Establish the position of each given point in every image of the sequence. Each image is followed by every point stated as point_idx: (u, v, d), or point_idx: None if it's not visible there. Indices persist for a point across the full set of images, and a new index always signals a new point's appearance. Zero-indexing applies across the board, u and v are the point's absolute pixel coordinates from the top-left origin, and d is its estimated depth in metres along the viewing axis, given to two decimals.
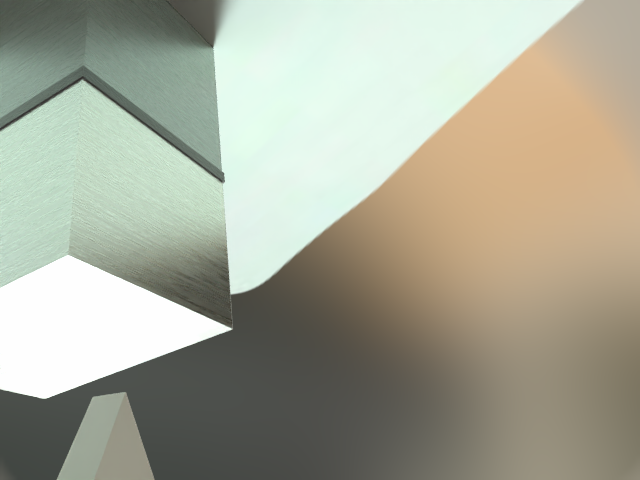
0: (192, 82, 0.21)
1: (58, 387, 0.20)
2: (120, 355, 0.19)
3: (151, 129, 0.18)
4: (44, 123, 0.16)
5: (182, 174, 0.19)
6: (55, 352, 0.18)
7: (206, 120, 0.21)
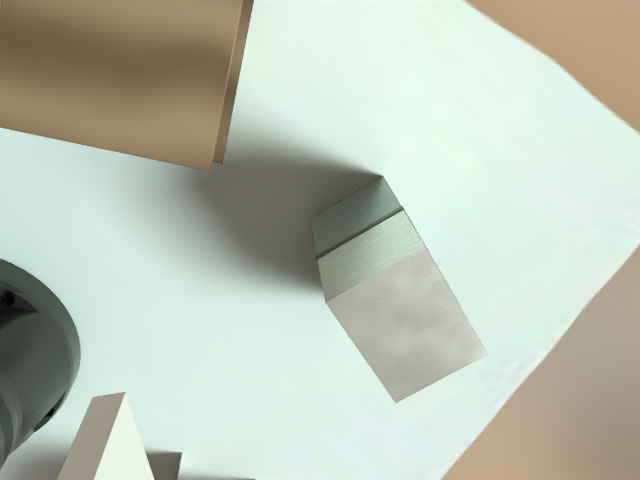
0: (373, 200, 0.40)
1: (473, 343, 0.34)
2: (439, 304, 0.33)
3: (353, 238, 0.37)
4: None
5: (375, 232, 0.36)
6: (422, 331, 0.33)
7: (385, 202, 0.38)
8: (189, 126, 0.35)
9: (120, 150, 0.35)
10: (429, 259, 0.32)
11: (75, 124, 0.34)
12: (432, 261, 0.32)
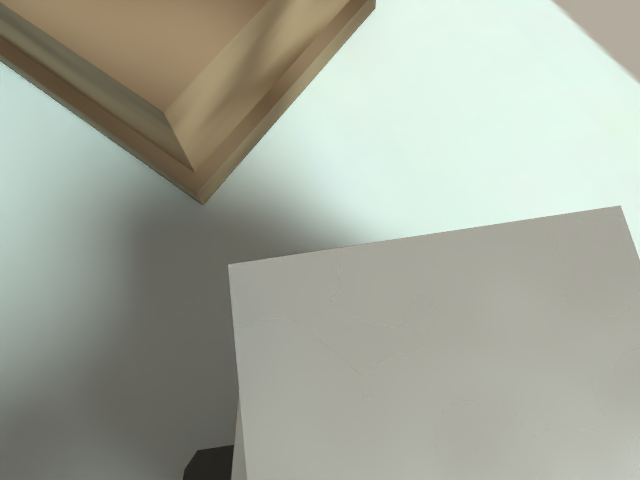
0: None
1: None
2: (638, 462, 0.08)
3: None
4: None
5: None
6: None
7: None
8: (177, 35, 0.19)
9: (49, 31, 0.20)
10: (627, 257, 0.09)
11: None
12: (637, 268, 0.09)
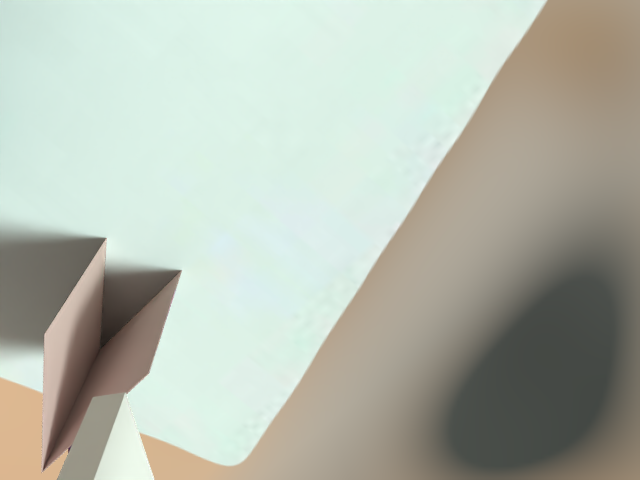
0: None
1: None
2: None
3: None
4: None
5: None
6: None
7: None
8: None
9: None
10: None
11: None
12: None
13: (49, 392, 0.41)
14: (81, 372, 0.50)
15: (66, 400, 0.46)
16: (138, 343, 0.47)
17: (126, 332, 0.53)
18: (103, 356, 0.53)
